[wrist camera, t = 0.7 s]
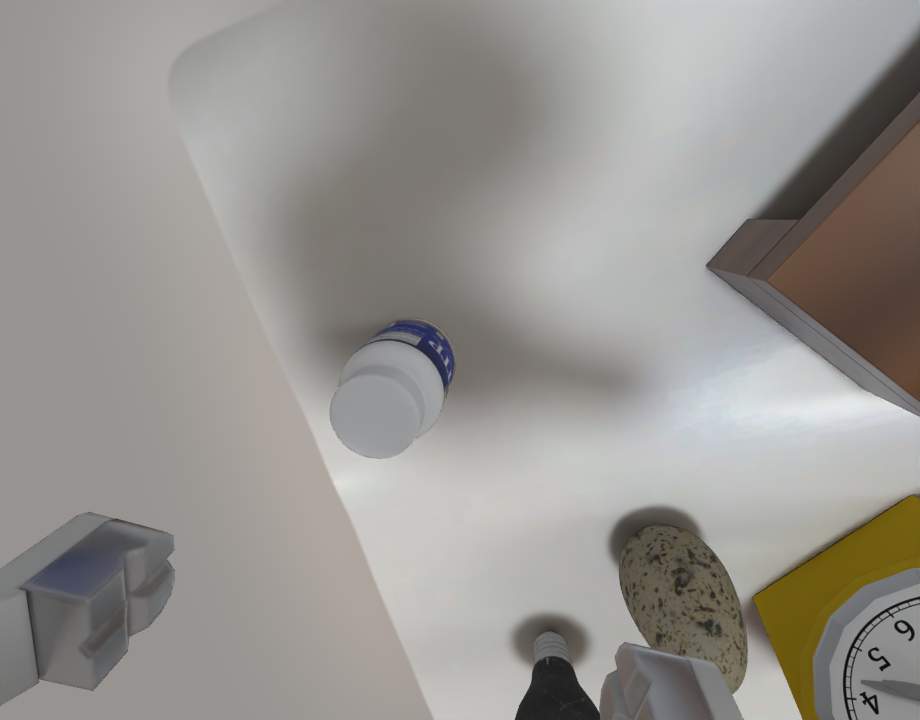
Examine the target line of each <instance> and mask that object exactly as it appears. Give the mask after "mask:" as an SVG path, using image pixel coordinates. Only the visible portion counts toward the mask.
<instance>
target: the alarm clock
mask: <svg viewBox="0 0 920 720" xmlns="http://www.w3.org/2000/svg"><path fill="white" fill-rule="evenodd" d="M753 600H754V602H755V604H756V607H757V609H758V612H759V614H760V617H761V619H762V621H763V624H764V626H765V629H766V631H767V634H768V636H769V638H770V641H771V643H772V646H773V648H774V651H775V653H776V655H777V658H778V660H779V663H780V665H781V668H782V670H783V672H784V675H785V677H786V680H787V682H788V685H789V687H790V689H791V692H792V694H793V697H794V699H795V702H796V704H797V707H798V709H799V711H800V714H801V716H802V719H803V720H920V498H917V497H915V496H913V495H911V496H909V497H908V498H906V499H905V500H903V501H902V502H900V503H898V504H897V505H895V506H894V507H892V508H891V509H889V510H888V511H886V512H884V513H883V514H881V515H880V516H878V517H877V518H875V519H874V520H872V521H870V522H869V523H867V524H866V525H864V526H863V527H861V528H860V529H858V530H856V531H855V532H853V533H852V534H850V535H849V536H847V537H845V538H844V539H842V540H841V541H839V542H838V543H836V544H835V545H833V546H831V547H830V548H828V549H827V550H825V551H824V552H822V553H821V554H819V555H817V556H816V557H814V558H813V559H811V560H810V561H808V562H807V563H805V564H803V565H802V566H800V567H799V568H797V569H796V570H794V571H792V572H791V573H789V574H788V575H786V576H785V577H783V578H782V579H780V580H778V581H777V582H775V583H774V584H772V585H771V586H769V587H768V588H766V589H764V590H763V591H761V592H760V593H758V594H757V595H755V596H754V597H753Z"/></svg>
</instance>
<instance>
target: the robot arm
mask: <svg viewBox="0 0 920 720" xmlns="http://www.w3.org/2000/svg"><path fill="white" fill-rule="evenodd" d="M174 550H175V549H174V536H173V535H172V534H169V533H167V532H164V531H160V530H156V529H153V528H149V527H145V526H142V525H138V524H134V523H131V522H127V521H123V520H119V519H114V518H110V517H107V516H103V515H99V514H96V513H92V512H88V513H84V514H81V515H77V516H76V517H74V518H73V519H71V520H70V521H68V522H67V523H66V524H64V525H63V526H61V527H60V528H58V529H57V530H55V531H54V532H53V533H51V534H50V535H48V536H47V537H45V538H44V539H43V540H41V541H40V542H38V543H37V544H35V545H34V546H33V547H31V548H29V549H28V550H27V551H25V552H24V553H22V554H21V555H20V556H18V557H16V558H15V559H14V560H12V561H11V562H9V563H8V564H7V565H5V566H3V567H2V568H1V569H0V706H1V705H3V704H4V703H6V702H8V701H9V700H11V699H13V698H14V697H16V696H18V695H20V694H21V693H23V692H25V691H26V690H28V689H30V688H31V687H33V686H35V685H36V684H38V683H39V679H40V680H45V681H49V682H55V683H59V684H63V685H68V686H73V687H77V688H82V689H87V690H91V691H93V690H94V689H95V688H96V687H97V686H98V685H99V683H100V682H101V681H102V680H103V679H104V678H105V677H106V676H107V674H108V673H109V672H110V671H111V670H112V669H113V667H114V666H115V665H116V664H117V663H118V662H119V661H120V660H121V658H122V657H123V656H124V655H125V654H126V653H127V651H128V645H129V637H130V636H132V635H134V634H136V633H138V632H140V631H142V630H144V629H146V628H148V627H149V626H150V625H151V624H152V622H153V621H154V620H155V619H156V618H157V617H158V615H159V614H160V613H161V612H162V610H163V608H164V606H165V605H166V603H167V600H168V599H169V597H170V595H171V592H172V589H173V585H174V581H175V570H174V568H173V567H172V565H171V564H170V563H169V561H168V560H167V558H168V556H170V554H172V553H173V551H174ZM615 661H616V665H617V670H615V671H614V672H612V673H610V674H608V675H607V676H606V679H605V681H604V684H603V687H602V689H601V698H600V707H599V709H600V720H744V719H743V717H742V715H741V713H740V711H739V709H738V706H737V704H736V702H735V700H734V698H733V696H732V694H731V692H730V690H729V688H728V686H727V683H726V681H725V679H724V677H723V675H722V673H721V671H720V669H719V668H718V667H717V666H716V665H715V664H714V663H713V662H709V661H704V660H700V659H696V658H691V657H687V656H681V655H679V654H675V653H671V652H666V651H662V650H658V649H653V648H649V647H644V646H640V645H636V644H631V643H627V642H624V643H623V644H622V645H621V646H619V649H618V651H617V653H616V655H615Z"/></svg>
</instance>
